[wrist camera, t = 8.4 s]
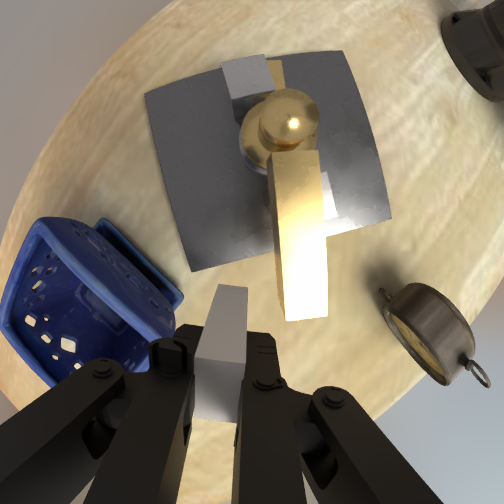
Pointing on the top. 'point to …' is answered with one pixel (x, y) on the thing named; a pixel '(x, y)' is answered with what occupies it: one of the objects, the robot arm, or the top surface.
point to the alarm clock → (432, 332)
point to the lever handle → (291, 193)
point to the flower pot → (85, 299)
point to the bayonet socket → (243, 170)
